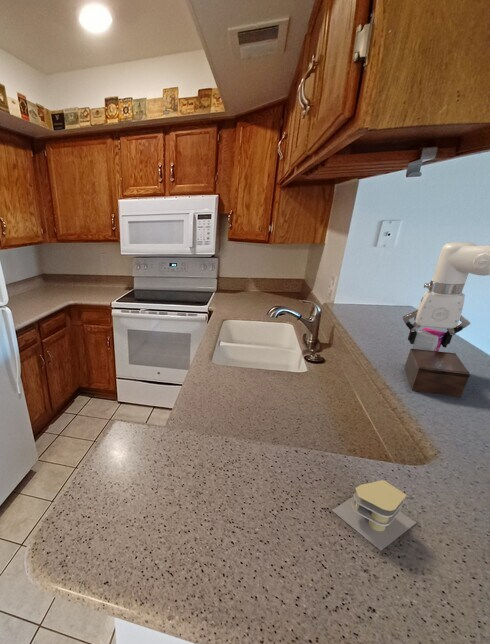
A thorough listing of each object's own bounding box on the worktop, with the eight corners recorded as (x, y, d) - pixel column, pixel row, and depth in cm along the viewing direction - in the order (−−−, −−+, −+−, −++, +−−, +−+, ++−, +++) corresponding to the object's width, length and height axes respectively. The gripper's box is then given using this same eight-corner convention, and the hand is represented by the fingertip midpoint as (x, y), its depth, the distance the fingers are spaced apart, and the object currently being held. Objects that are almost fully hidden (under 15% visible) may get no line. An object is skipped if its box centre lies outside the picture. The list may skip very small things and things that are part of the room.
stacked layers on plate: (366, 488, 63) (372, 466, 61) (416, 523, 56) (426, 500, 53) (331, 510, 59) (337, 488, 57) (380, 551, 52) (389, 527, 49)
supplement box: (426, 370, 102) (437, 336, 97) (405, 364, 107) (415, 331, 102) (434, 365, 105) (446, 331, 100) (413, 359, 110) (423, 327, 104)
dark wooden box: (447, 374, 100) (455, 353, 96) (460, 397, 88) (470, 374, 85) (404, 369, 104) (410, 348, 101) (411, 390, 93) (419, 367, 90)
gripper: (411, 289, 95) (395, 345, 103) (489, 293, 88) (465, 352, 96) (407, 283, 101) (392, 336, 109) (480, 286, 94) (458, 343, 102)
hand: (427, 343), depth 103 cm, fingers closed on supplement box, 7 cm apart
